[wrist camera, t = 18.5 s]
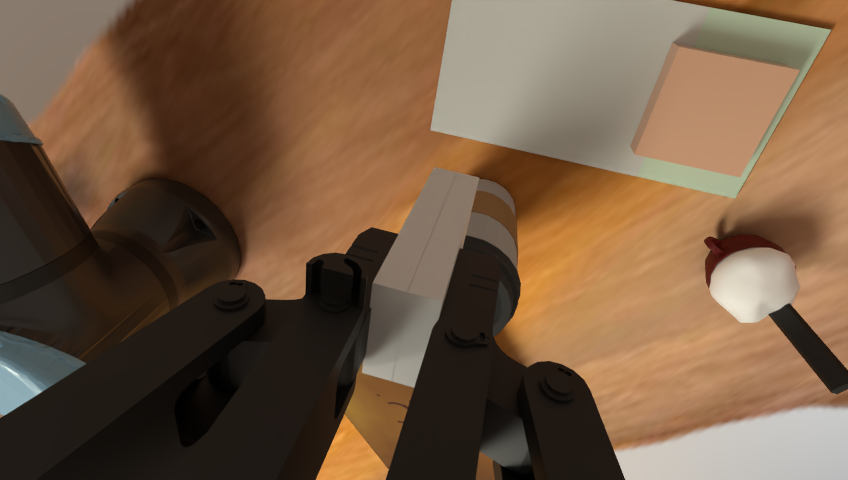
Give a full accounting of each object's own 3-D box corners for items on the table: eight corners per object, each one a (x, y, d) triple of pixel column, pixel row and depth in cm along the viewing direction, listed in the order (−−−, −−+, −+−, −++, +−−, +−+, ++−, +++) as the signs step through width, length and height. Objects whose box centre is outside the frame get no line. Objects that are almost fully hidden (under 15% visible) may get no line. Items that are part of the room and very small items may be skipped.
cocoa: (683, 229, 42) (716, 310, 32) (763, 202, 39) (828, 281, 29) (719, 310, 45) (760, 408, 35) (796, 290, 42) (866, 390, 32)
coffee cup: (472, 148, 42) (442, 228, 29) (545, 202, 43) (546, 302, 31) (422, 212, 46) (376, 305, 34) (489, 260, 48) (469, 367, 35)
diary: (543, 433, 59) (543, 476, 55) (417, 454, 67) (408, 493, 62) (460, 295, 51) (452, 331, 46) (328, 337, 59) (308, 371, 54)
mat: (431, 128, 42) (430, 130, 42) (459, -40, 35) (458, -40, 35) (733, 196, 39) (735, 198, 39) (827, 29, 32) (831, 29, 32)
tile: (634, 154, 37) (740, 177, 36) (679, 46, 33) (800, 70, 32) (630, 145, 39) (730, 167, 38) (672, 42, 34) (786, 64, 34)
